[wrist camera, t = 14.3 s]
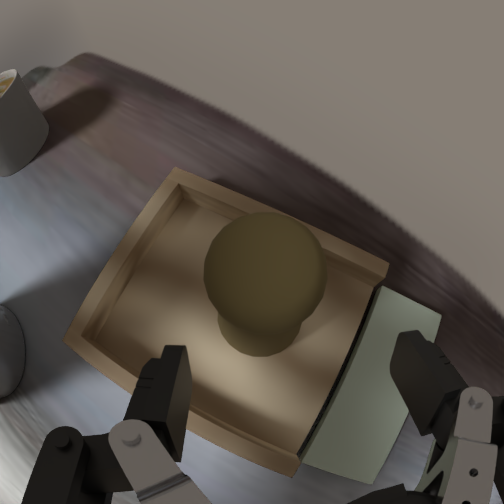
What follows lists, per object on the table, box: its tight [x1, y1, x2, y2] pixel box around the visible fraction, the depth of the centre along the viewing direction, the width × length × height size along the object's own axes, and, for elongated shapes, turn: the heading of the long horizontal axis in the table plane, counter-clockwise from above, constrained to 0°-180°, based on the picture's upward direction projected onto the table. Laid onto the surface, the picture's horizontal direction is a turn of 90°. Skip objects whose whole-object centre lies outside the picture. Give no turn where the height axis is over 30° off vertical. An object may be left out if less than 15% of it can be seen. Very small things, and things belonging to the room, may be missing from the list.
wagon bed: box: [62, 167, 390, 478], centre depth 21 cm, size 16×18×4 cm
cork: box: [203, 212, 328, 357], centre depth 17 cm, size 6×6×11 cm
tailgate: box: [299, 286, 442, 485], centre depth 20 cm, size 14×1×6 cm
